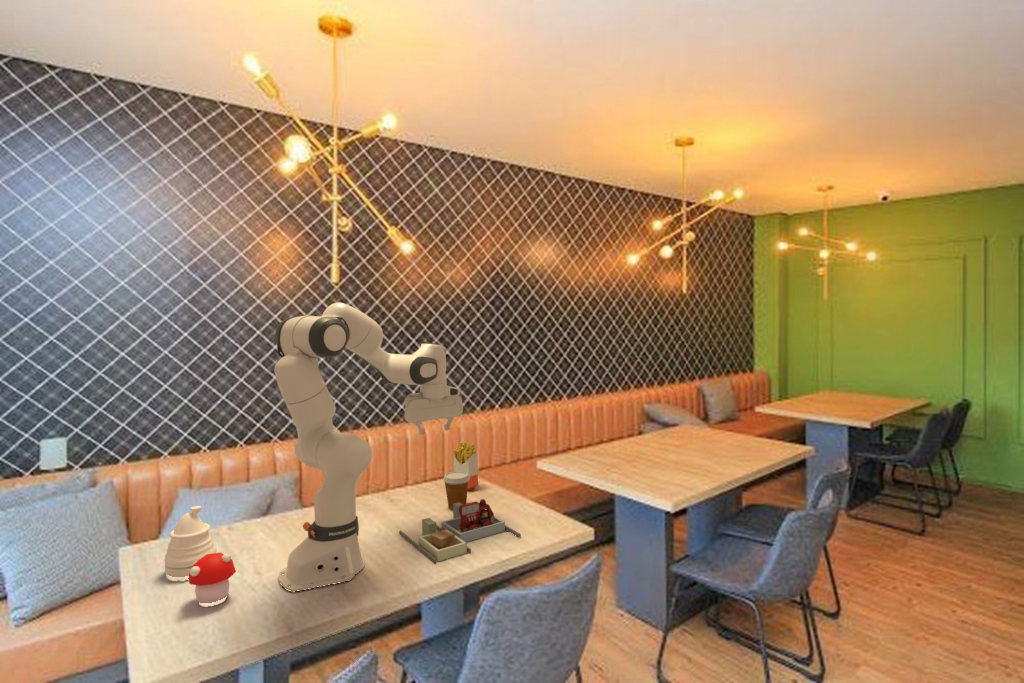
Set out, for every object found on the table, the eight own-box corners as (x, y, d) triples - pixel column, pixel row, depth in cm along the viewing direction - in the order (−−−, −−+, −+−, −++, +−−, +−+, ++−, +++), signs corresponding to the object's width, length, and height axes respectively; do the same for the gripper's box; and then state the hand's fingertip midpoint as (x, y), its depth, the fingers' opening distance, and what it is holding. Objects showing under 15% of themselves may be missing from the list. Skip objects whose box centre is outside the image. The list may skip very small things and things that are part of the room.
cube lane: (437, 561, 163) (436, 541, 162) (412, 541, 177) (411, 522, 177) (466, 552, 168) (466, 533, 167) (439, 533, 182) (439, 515, 182)
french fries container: (468, 492, 221) (467, 447, 220) (453, 486, 229) (451, 442, 228) (478, 490, 224) (477, 445, 223) (462, 483, 232) (461, 440, 231)
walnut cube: (441, 555, 166) (441, 539, 166) (431, 550, 170) (431, 534, 170) (455, 550, 170) (454, 534, 170) (444, 545, 174) (444, 529, 173)
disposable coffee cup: (472, 510, 202) (471, 477, 201) (445, 513, 200) (444, 480, 199) (468, 501, 211) (467, 470, 210) (442, 504, 209) (441, 472, 208)
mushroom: (179, 611, 139) (176, 564, 138) (205, 589, 149) (203, 544, 149) (221, 611, 138) (219, 564, 137) (245, 589, 149) (242, 544, 148)
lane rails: (434, 563, 161) (434, 559, 161) (399, 534, 182) (399, 530, 182) (520, 537, 178) (520, 533, 178) (479, 513, 199) (479, 510, 199)
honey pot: (220, 557, 169) (216, 498, 167) (214, 576, 157) (210, 512, 155) (170, 565, 164) (166, 504, 163) (160, 585, 152) (156, 520, 151)
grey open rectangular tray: (460, 544, 174) (459, 525, 174) (434, 526, 189) (434, 508, 188) (505, 530, 183) (504, 512, 183) (477, 514, 198) (477, 497, 198)
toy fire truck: (499, 531, 183) (498, 500, 182) (466, 541, 176) (465, 508, 175) (488, 525, 189) (487, 494, 188) (455, 534, 182) (454, 502, 181)
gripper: (408, 395, 181) (409, 438, 182) (464, 389, 192) (465, 429, 193) (400, 393, 186) (402, 434, 187) (455, 387, 197) (456, 426, 198)
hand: (434, 432), depth 190 cm, fingers open, 8 cm apart
